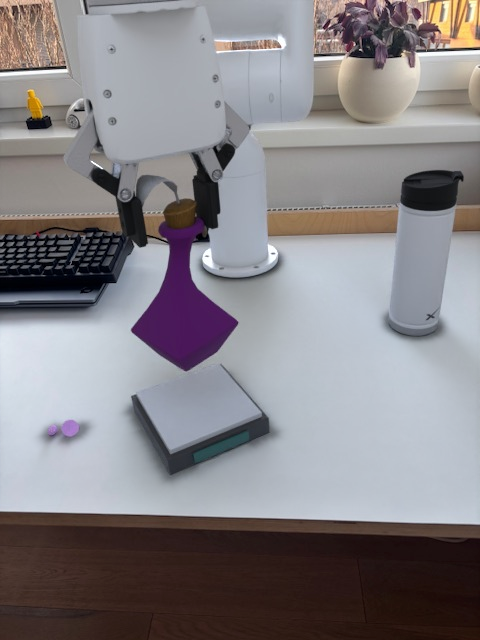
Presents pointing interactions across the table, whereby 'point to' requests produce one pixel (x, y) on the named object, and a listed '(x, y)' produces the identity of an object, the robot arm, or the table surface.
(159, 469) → the table surface
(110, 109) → the robot arm
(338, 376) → the table surface
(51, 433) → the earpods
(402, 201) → the travel mug
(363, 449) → the table surface
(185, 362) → the purple potion bottle
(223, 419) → the kitchen scale
